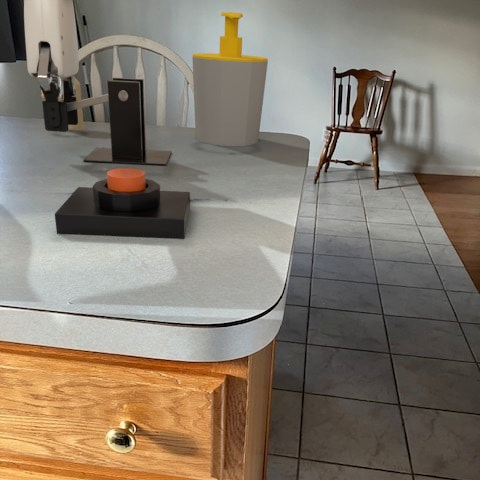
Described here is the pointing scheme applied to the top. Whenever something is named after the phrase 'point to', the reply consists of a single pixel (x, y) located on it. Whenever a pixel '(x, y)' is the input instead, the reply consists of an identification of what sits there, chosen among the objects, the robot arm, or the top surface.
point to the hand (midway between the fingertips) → (62, 126)
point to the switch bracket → (127, 127)
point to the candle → (80, 113)
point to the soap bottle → (228, 91)
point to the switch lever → (87, 102)
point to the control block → (124, 212)
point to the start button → (126, 179)
